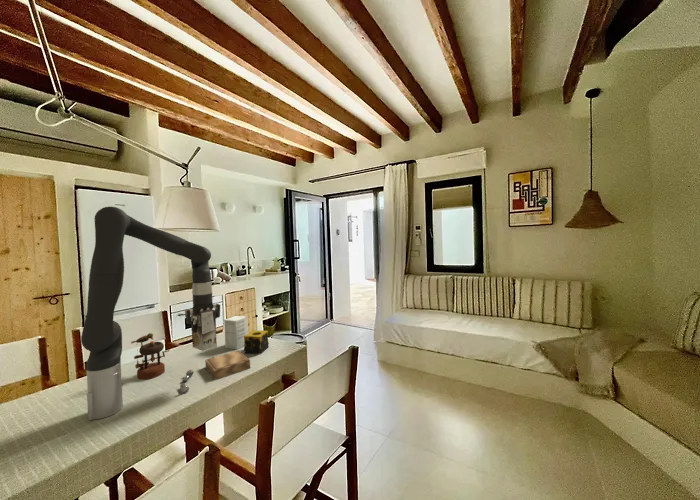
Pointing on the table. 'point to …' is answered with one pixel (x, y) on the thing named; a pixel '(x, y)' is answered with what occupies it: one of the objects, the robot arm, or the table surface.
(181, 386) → the bolt
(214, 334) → the coffee box
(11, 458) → the table surface
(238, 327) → the supplement box
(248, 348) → the yellow black tissue box
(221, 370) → the stand
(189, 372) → the bolt
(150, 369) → the music box
